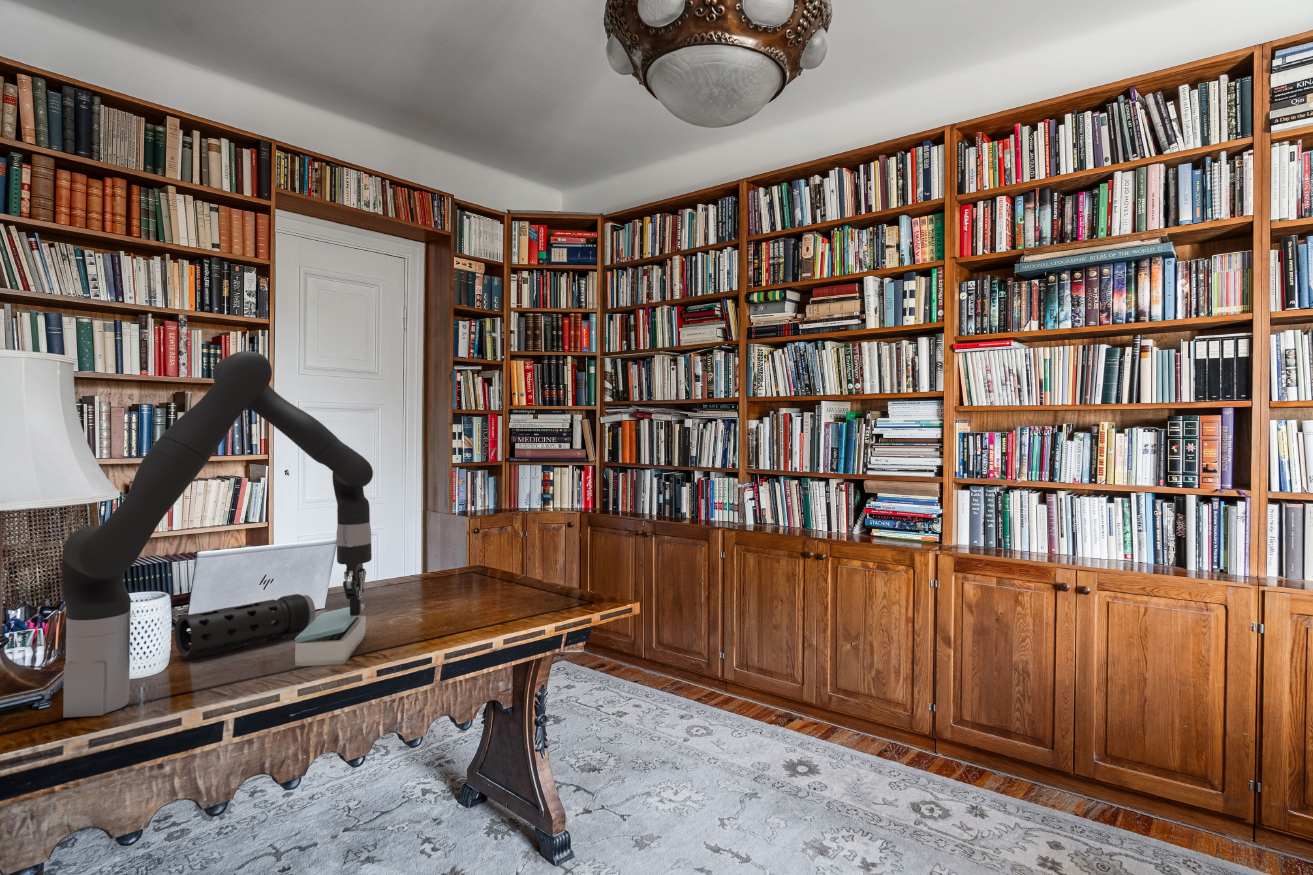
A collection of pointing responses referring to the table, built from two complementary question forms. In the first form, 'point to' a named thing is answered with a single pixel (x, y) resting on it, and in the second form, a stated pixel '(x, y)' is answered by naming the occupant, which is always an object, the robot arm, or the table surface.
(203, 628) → the muzzle brake
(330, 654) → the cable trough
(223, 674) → the table surface
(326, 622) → the trough lid
